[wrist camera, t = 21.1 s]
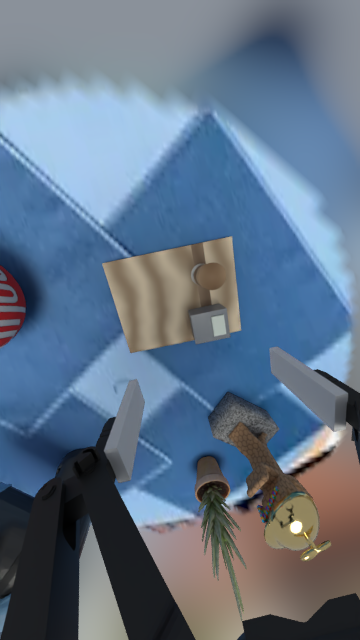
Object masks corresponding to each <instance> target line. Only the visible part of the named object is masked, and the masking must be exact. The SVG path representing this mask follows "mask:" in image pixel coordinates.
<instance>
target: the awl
mask: <svg viewBox="0 0 360 640" xmlns="http://www.w3.org/2000/svg"><path fill="white" fill-rule="evenodd" d="M193 277H194V280H195V282H196V283H197V284H198V285H200V286H202V287H204V288H206V289H208V290H216V289H219V288H220V287H221V286H222V285H223V284H224V282H225V280H226V271H225V269H224V267H223V266H222V265H220V264H218V263H208V264H203V265H200V266H198V267H197V268H196V270H195V271H194V274H193Z"/></svg>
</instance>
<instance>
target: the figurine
mask: <svg viewBox="0 0 360 640" xmlns="http://www.w3.org/2000/svg"><path fill="white" fill-rule="evenodd" d="M208 419H209V423H210V426H211V430H212V434H213V437H214V438H216V439H219V440H221V441H223V442H226V443H228V444H231V445H233V446H235V447H237V448H238V450H239V451H240V452H241V453H242V454H243V455H245V456H246V457H247V458H248V459H249V461H250V463H251V466H252V468H253V471H252V473H251V474H250V475H249V476H248V477H247V478H246V483H247V486H248V490H247V494H248V496H249V497H252V496H253V495H254V494H255V493H256V492H257V491H258V490H259V489H261V490H262V491H263V495H264V497H263V499H262V505H263V506H260V505H258V506H257V508H258V511H259V514H260V517H261V519H262V522H263V523H266V526H265V530H264V538H265V541H266V543H267V544H268V545H269V546H270V547H272V548H274V549H283V548H287V549H290V550H295V551H296V550H303V549H306V548H307V547H309V546H310V548H311V549H308V550H306V551H305V552H303V553H302V555H301V556H300V559H301V560H303V561H309V560H311V559H313V558H314V557H315V556H316V555H317V554H318V553H320V552H322V551H324V550H326V549H327V548H329V547H330V546H331V543H330V541H325V542H323V543H321V544H319V545H318V546H316V545H315V544H314V543H313V542H314V540H315V539H316V537H317V535H318V530H319V515H318V511H317V508H316V506H315V503H314V501H313V498H312V496H311V495H310V494H309V493H308V492H307V491H306V489H305V488H304V487H303V486H302V485H301V484H300V483H299V481H298V480H296V479H295V478H294V477H293V476H290V475H287V474H284V473H283V472H282V470H281V469H280V467H279V465H278V464H277V462H276V461H275V459H274V458H273V456H272V455H271V453H270V451H269V449H268V448H267V442H268V441H269V440H270V439H271V438H272V437H273V436H274V435H275V433H276V432H277V431H278V430H279V428H278V426H277V425H276V424H275V422H274V421H273V419H272V418H271V417H270V415H269V414H268V412H267V411H266V410H264V409H262V408H260V407H258V406H256V405H254V404H252V403H250V402H248V401H246V400H244V399H242V398H240V397H238V396H236V395H233V394H231V393H229V392H227V393H226V395H225V396H224V397H223V399H222V400H221V401H220V403H219V404H218V405H217V407H216V408H215V409H214V411H213V412H212V413H211V415H210V416H209V417H208Z"/></svg>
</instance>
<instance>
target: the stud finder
mask: <svg viewBox="0 0 360 640" xmlns="http://www.w3.org/2000/svg"><path fill="white" fill-rule="evenodd" d="M188 313H189V318H190V323H191V328H192V333H193V337H194V340H195V343H196V344H200V343H205V342H210V341H214V340H219V339H224V338H228V337H230V330H229V323H228V315H227V308H226V307H224V306H223V305H221V304H220V303H219V304H214V305H209V306H205V307H200V308H195V309H191V310H188Z"/></svg>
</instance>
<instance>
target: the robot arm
mask: <svg viewBox="0 0 360 640" xmlns="http://www.w3.org/2000/svg"><path fill="white" fill-rule="evenodd" d="M270 361H271V373H272V374H273V375H274V376H275V377H276V378H278V379H279V380H280V381H281V382H282V383H283V384H284V385H285V386H286V387H287V388H288V389H289V390H290V391H291V392H292V393H293V394H294V395H296V396H297V397H298V398H299V399H300V400H301V401H302V402H303V403H304V404H305V405H306V406H307V407H308V408H309V409H310V410H311V411H312V412H313V413H315V414H316V415H317V416H318V417H319V418H320V419H321V420H322V421H323V422H324V423H325V424H326V425H327V426H328V427H329V428H330V429H331V430H332V431H334V432H336V431H340V430H344V429H346V422H348V423H349V424H350V425H351V426H352V427H353V429H352V441H355V445H356V450H357V454H358V459H359V463H360V393H358V392H357V391H355V390H354V389H352V388H350V387H349V386H347V385H345V384H344V383H342V382H341V381H339V380H337V379H336V378H333V376H331V375H329V374H328V373H326V372H323V371H321V370H318V369H317V370H312V369H311V368H309V367H308V366H306V365H305V364H303V363H301V362H300V361H298V360H297V359H295V358H294V357H292V356H291V355H289V354H288V353H286V352H285V351H283V350H282V349H280V348H279V347H273V348H270ZM144 404H145V401H144V398H143V395H142V392H141V389H140V386H139V383H138V380H137V379H135V380H131V381H129V383H128V386H127V388H126V391H125V394H124V397H123V399H122V402H121V405H120V408H119V410H118V413H117V416H116V417H113V418H109V420H108V421H107V422H106V424H105V425H104V427H103V430H102V432H101V434H100V438H99V439H98V441H97V444H96V446H95V447H88V448H85V449H78V450H75V451H72V452H70V453H68V454H67V455H66V456H65V457H64V458H63V460H62V461H61V463H60V465H59V467H58V469H57V472H56V476H55V478H53V479H51V480H50V481H48V482H47V483H46V484H44V486H43V487H42V488H41V489H40V490H39V491H38V493H37V494H36V496H35V497H33V496H31V495H29V494H26V493H24V492H22V491H20V490H18V489H16V488H14V487H12V484H5V483H3V482H0V632H2V635H1V639H0V640H78V617H79V559H80V556H81V553H82V549H83V546H84V543H85V540H86V536H87V533H88V530H89V527H90V524H91V523H92V526H93V529H94V532H95V535H96V538H97V541H98V545H99V548H100V551H101V554H102V557H103V560H104V563H105V567H106V570H107V573H108V576H109V579H110V582H111V585H112V589H113V592H114V595H115V598H116V601H117V604H118V607H119V610H120V613H121V617H122V620H123V623H124V626H125V629H126V633H127V635H128V639H129V640H195V638H194V636H193V634H192V632H191V630H190V628H189V626H188V624H187V622H186V620H185V619H184V617H183V615H182V613H181V611H180V609H179V607H178V605H177V604H176V602H175V600H174V598H173V597H172V595H171V593H170V591H169V589H168V587H167V585H166V583H165V581H164V579H163V577H162V575H161V573H160V572H159V570H158V568H157V566H156V564H155V562H154V560H153V558H152V556H151V554H150V552H149V550H148V548H147V546H146V544H145V543H144V541H143V539H142V537H141V535H140V533H139V531H138V529H137V527H136V525H135V523H134V521H133V519H132V517H131V515H130V513H129V511H128V510H127V508H126V506H125V504H124V502H123V500H122V498H121V496H120V494H119V492H118V490H117V488H116V486H115V484H114V482H115V478H116V479H117V481H118V483H121V482H125V481H130V480H131V475H132V470H133V464H134V459H135V453H136V448H137V442H138V437H139V431H140V426H141V420H142V415H143V409H144ZM242 623H243V628H244V633H243V634H242V635H241V636H240V637H239V638H238V639H237V640H360V600H359V598H358V596H357V594H356V593H355V594H350V595H346V596H342V597H338V598H334V599H330V600H328V601H327V602H326V603H325V604H324V605H323V606H322V607H321V608H320V609H319V610H318V611H317V612H316V613H315V614H314V615H313V616H312V617H311V618H310V619H309V620H308V621H307V622H304V623H303V622H298V621H295V620H291V619H287V618H283V617H279V616H274V615H271V614H270V615H265V616H262V617H257V618H253V619H250V620H245V621H242Z"/></svg>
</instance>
